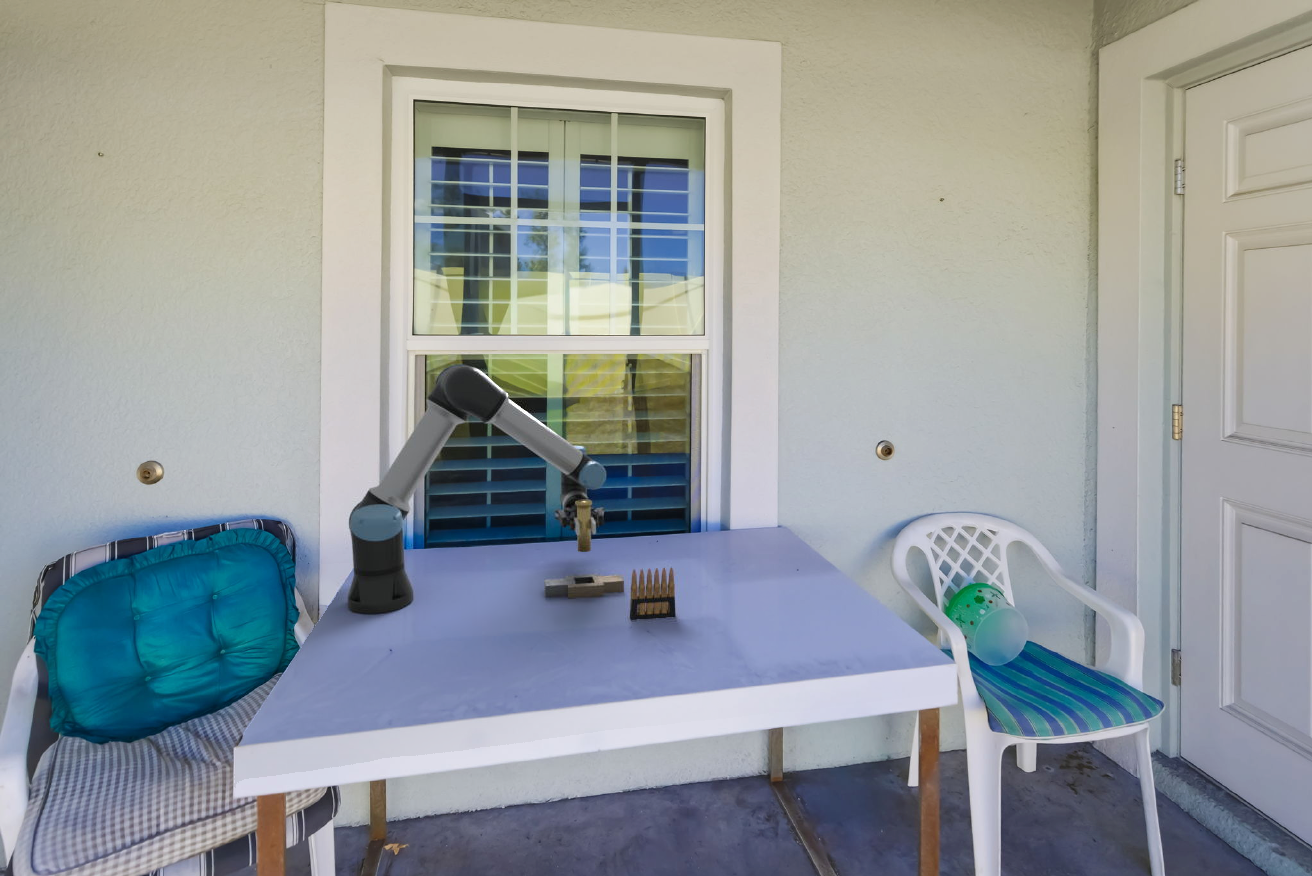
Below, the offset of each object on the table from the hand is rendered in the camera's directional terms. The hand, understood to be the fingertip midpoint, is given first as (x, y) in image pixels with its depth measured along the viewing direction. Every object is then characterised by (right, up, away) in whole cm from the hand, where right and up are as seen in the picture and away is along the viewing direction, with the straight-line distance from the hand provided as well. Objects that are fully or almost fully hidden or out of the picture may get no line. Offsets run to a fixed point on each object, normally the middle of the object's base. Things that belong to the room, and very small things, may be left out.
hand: (586, 529), depth 173 cm
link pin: (-1, -6, +6) cm, 9 cm away
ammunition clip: (+16, -20, -9) cm, 27 cm away
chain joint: (-1, -17, +8) cm, 19 cm away
